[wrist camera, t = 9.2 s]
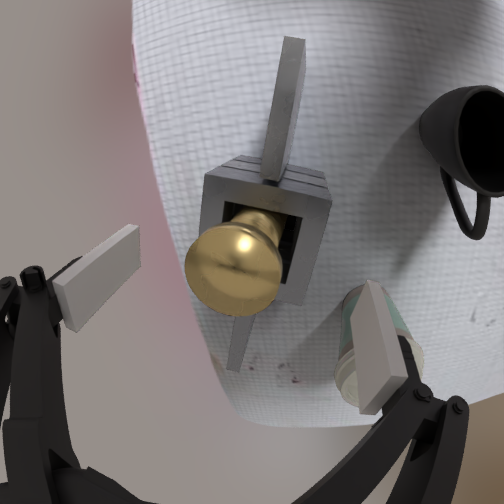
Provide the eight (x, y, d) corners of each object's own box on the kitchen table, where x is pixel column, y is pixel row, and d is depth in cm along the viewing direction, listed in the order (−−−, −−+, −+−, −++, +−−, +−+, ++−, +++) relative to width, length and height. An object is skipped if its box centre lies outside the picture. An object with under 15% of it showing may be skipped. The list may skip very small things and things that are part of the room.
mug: (400, 202, 25) (437, 242, 16) (406, 84, 19) (452, 70, 11) (463, 211, 23) (511, 250, 15) (473, 103, 18) (530, 105, 9)
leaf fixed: (240, 155, 26) (204, 173, 17) (323, 172, 25) (332, 200, 16) (220, 300, 34) (192, 359, 25) (284, 315, 33) (273, 380, 24)
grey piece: (256, 62, 21) (227, 31, 12) (342, 78, 20) (363, 53, 12) (229, 230, 29) (195, 279, 21) (304, 247, 29) (301, 305, 20)
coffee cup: (322, 286, 30) (323, 369, 20) (394, 263, 27) (428, 339, 17) (340, 338, 33) (344, 418, 23) (403, 320, 30) (427, 396, 20)
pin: (254, 170, 26) (187, 220, 13) (303, 181, 26) (289, 244, 12) (246, 216, 28) (183, 302, 15) (292, 227, 28) (268, 326, 14)
